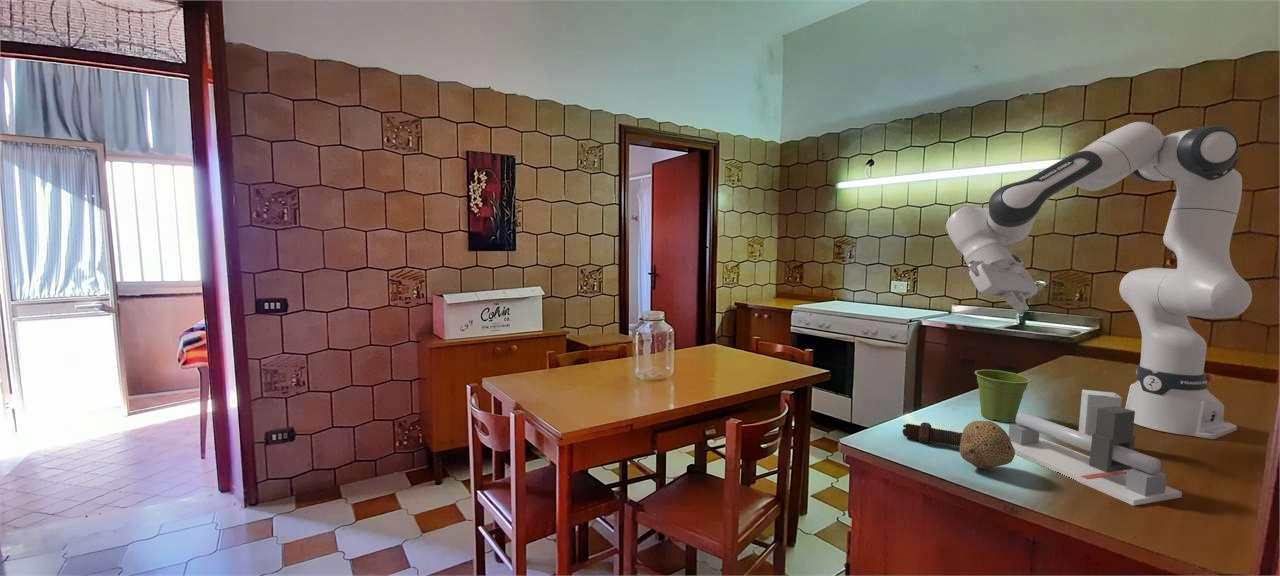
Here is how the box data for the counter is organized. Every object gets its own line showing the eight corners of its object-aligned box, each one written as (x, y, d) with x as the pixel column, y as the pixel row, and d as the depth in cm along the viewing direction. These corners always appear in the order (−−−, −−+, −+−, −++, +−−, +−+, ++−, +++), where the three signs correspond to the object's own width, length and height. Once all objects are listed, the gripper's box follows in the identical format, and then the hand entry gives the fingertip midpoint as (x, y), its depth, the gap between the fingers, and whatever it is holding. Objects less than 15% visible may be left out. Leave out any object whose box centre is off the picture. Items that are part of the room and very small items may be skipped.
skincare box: (1110, 443, 118) (1115, 392, 117) (1117, 450, 115) (1123, 397, 113) (1076, 439, 121) (1081, 388, 120) (1082, 445, 117) (1088, 394, 116)
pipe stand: (993, 444, 117) (996, 411, 116) (1034, 439, 120) (1037, 407, 119) (1133, 505, 91) (1137, 463, 90) (1181, 497, 94) (1186, 455, 94)
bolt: (903, 444, 122) (980, 459, 113) (900, 439, 119) (978, 454, 110) (906, 419, 124) (982, 432, 115) (903, 414, 120) (980, 427, 111)
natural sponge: (1021, 473, 103) (1025, 424, 102) (999, 484, 99) (1003, 433, 98) (972, 456, 111) (975, 411, 110) (949, 466, 106) (953, 419, 105)
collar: (1089, 465, 101) (1095, 408, 99) (1113, 462, 102) (1119, 405, 101) (1106, 472, 98) (1112, 413, 97) (1131, 468, 99) (1137, 410, 98)
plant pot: (1011, 429, 127) (1015, 384, 125) (961, 414, 137) (965, 372, 136) (1036, 421, 132) (1040, 378, 131) (986, 407, 143) (989, 367, 141)
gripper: (977, 252, 123) (1011, 302, 116) (1024, 258, 133) (1058, 305, 126) (954, 267, 128) (985, 316, 121) (1001, 272, 137) (1032, 318, 130)
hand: (1022, 310), depth 123 cm, fingers closed
